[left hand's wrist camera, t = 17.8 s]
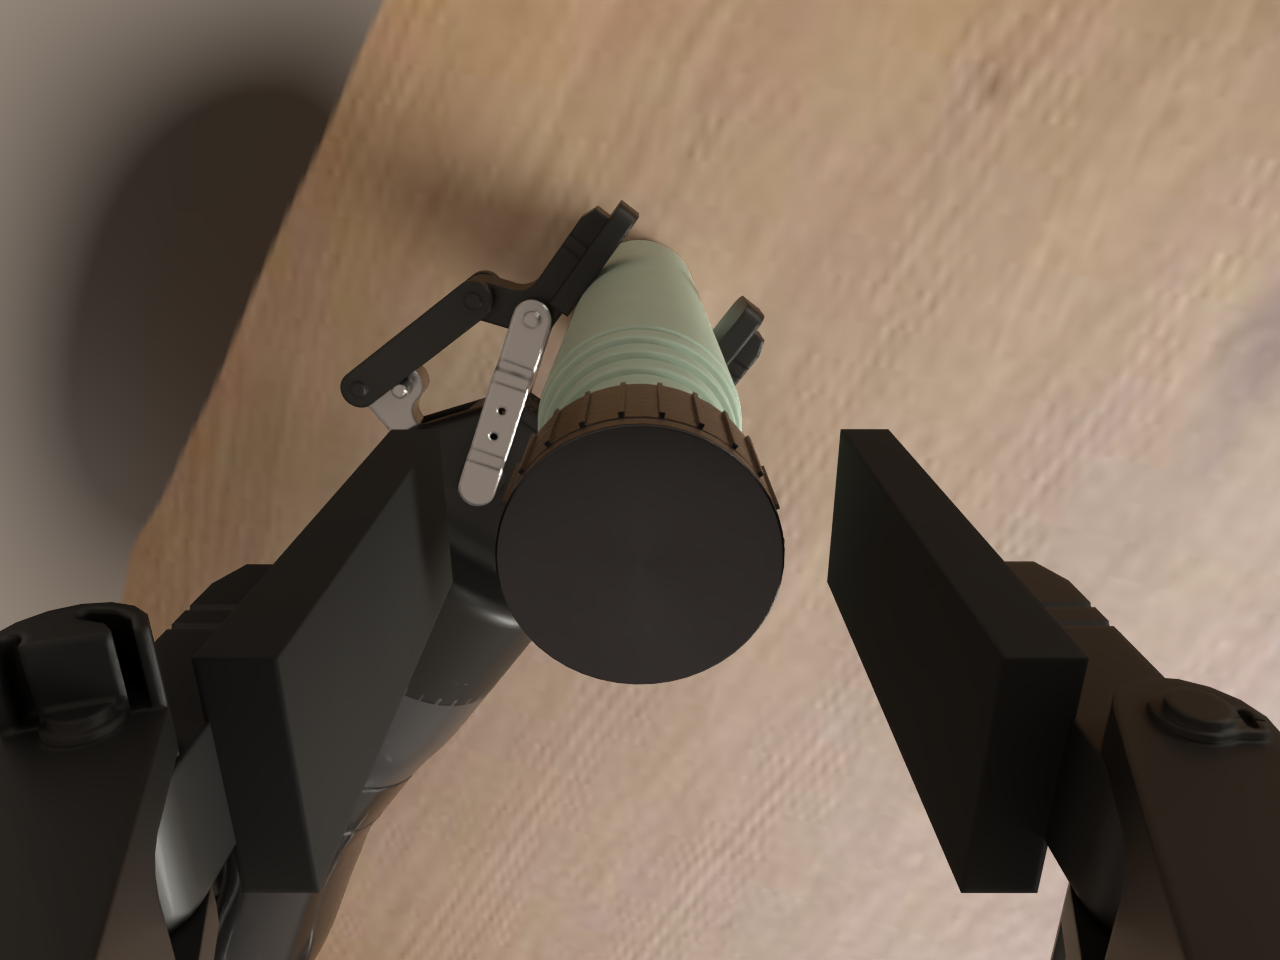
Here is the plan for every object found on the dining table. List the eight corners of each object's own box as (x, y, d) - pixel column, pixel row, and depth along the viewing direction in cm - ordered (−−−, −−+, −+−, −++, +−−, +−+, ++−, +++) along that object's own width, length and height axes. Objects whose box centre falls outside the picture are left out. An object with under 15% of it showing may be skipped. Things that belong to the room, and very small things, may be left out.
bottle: (685, 230, 33) (765, 379, 12) (701, 339, 35) (800, 644, 13) (575, 250, 33) (462, 432, 12) (596, 358, 35) (530, 685, 14)
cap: (677, 654, 15) (683, 732, 13) (466, 540, 14) (438, 604, 12) (817, 465, 14) (849, 520, 12) (595, 328, 13) (587, 361, 11)
